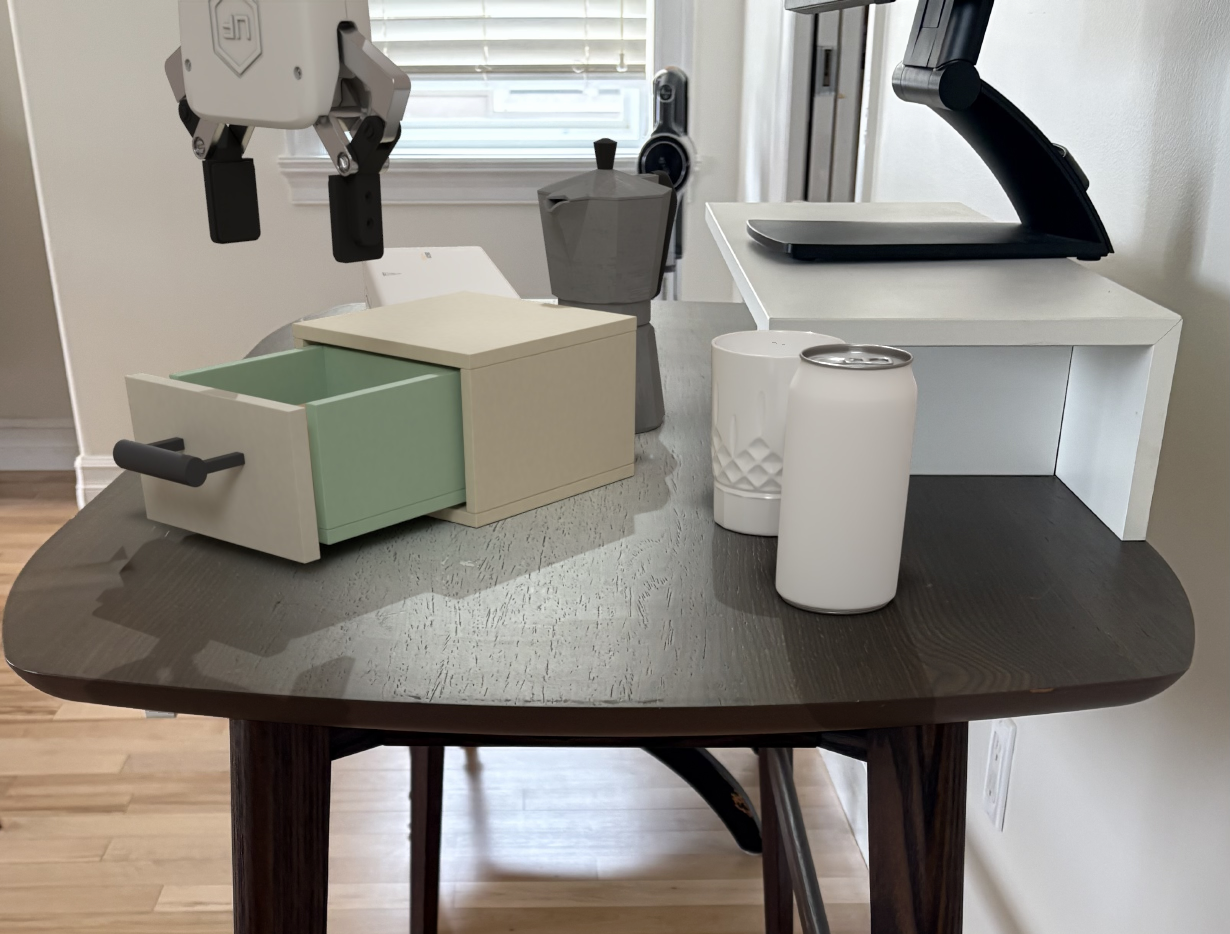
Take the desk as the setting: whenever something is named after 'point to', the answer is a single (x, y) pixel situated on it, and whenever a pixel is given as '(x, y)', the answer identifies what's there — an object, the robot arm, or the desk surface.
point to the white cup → (752, 423)
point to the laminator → (431, 274)
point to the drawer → (297, 446)
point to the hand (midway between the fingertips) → (296, 250)
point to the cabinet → (515, 391)
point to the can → (845, 478)
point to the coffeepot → (613, 255)
